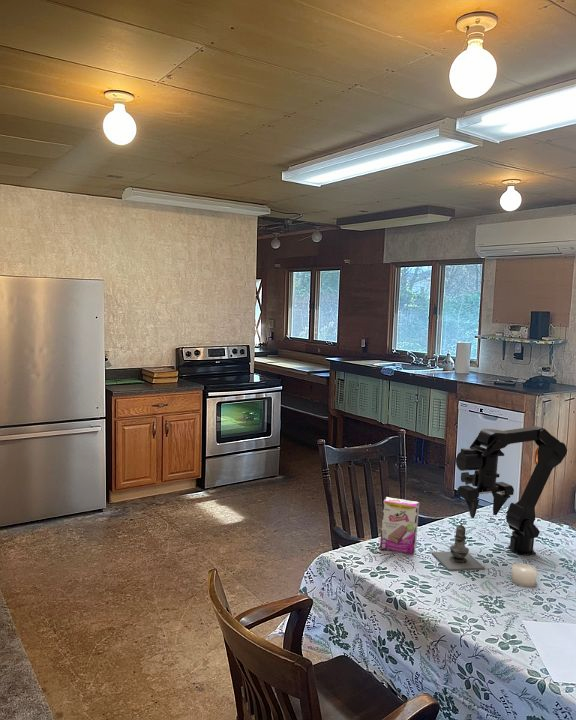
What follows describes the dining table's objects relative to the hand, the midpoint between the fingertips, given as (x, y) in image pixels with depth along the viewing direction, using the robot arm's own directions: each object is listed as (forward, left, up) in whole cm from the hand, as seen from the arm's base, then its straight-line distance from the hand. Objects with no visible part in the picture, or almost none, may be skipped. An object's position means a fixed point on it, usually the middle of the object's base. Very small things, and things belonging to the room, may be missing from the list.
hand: (483, 516), depth 189 cm
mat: (+10, +4, -13) cm, 17 cm away
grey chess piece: (+10, +4, -13) cm, 16 cm away
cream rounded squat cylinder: (-4, +18, -13) cm, 23 cm away
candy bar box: (+26, -6, -13) cm, 30 cm away
